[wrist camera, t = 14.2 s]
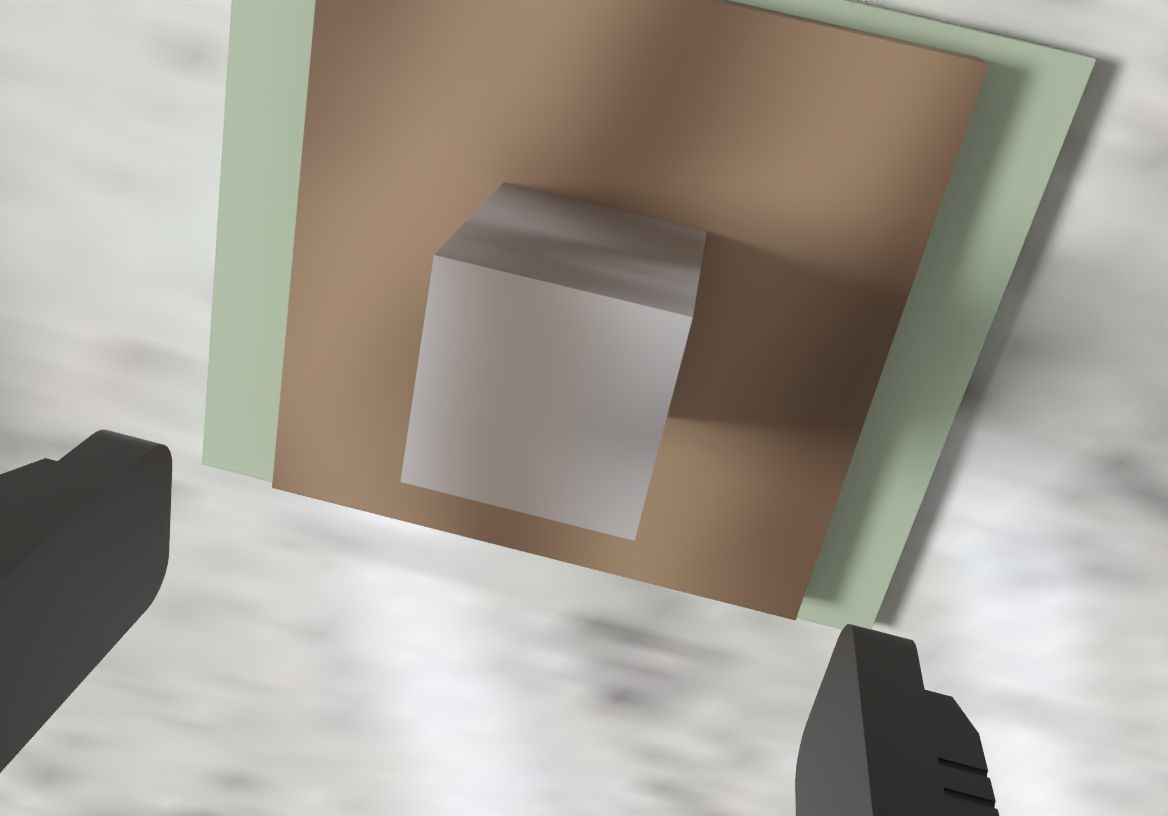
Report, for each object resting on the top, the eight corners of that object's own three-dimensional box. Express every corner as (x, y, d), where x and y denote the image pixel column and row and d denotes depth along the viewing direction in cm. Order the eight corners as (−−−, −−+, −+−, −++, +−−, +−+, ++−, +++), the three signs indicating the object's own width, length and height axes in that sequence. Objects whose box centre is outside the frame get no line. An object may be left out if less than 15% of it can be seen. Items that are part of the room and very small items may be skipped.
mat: (1086, 54, 20) (1096, 59, 20) (866, 621, 26) (868, 636, 25) (253, -139, 21) (240, -141, 20) (213, 452, 26) (202, 464, 26)
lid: (979, 57, 20) (1060, 109, 14) (794, 594, 25) (804, 782, 20) (342, -88, 20) (193, -89, 15) (289, 467, 26) (163, 615, 20)
